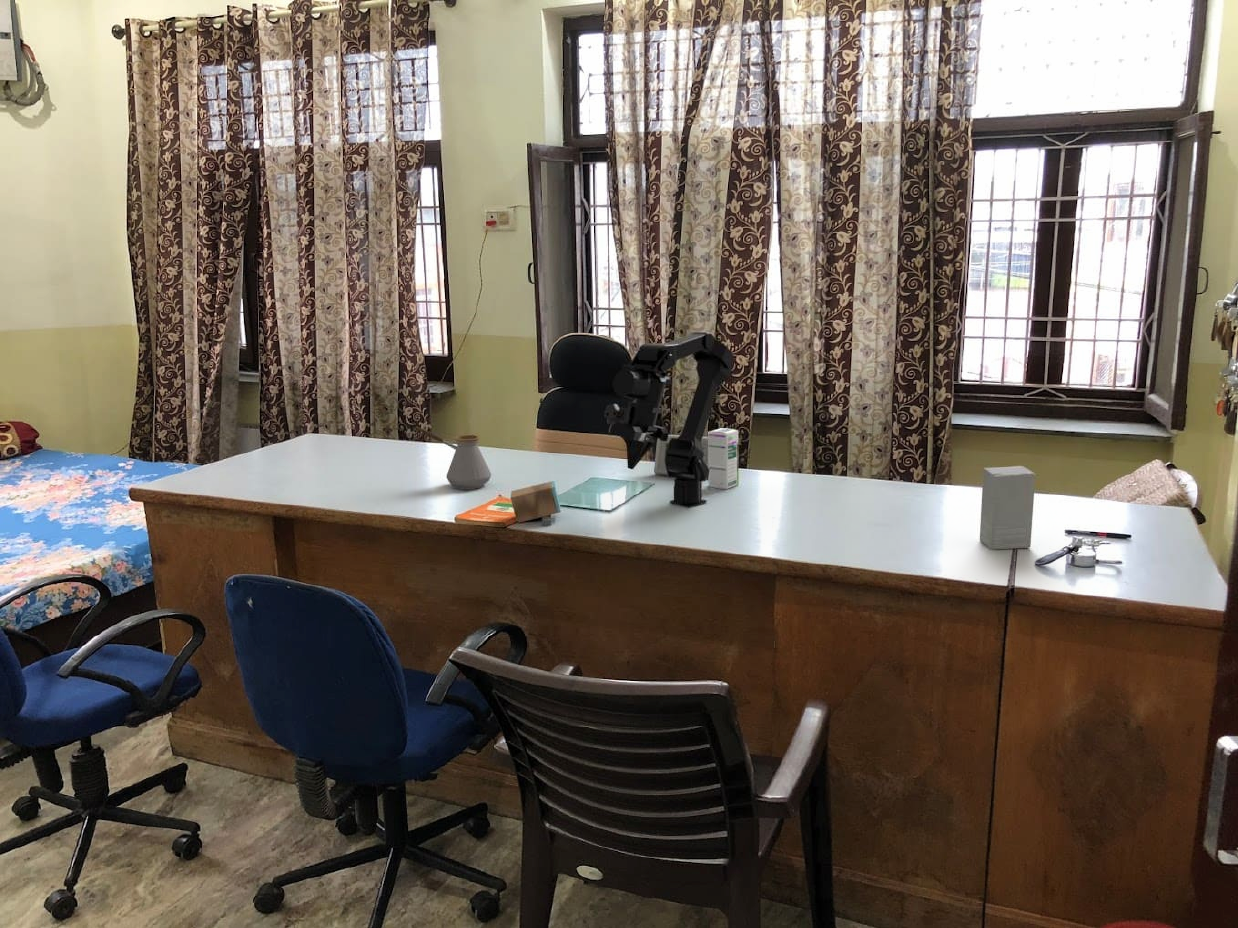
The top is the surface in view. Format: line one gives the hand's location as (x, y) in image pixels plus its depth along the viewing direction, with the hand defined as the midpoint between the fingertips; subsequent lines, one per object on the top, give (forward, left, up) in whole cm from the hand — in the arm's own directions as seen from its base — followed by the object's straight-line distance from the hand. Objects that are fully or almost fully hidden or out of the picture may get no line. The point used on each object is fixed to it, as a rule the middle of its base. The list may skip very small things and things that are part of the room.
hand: (630, 468), depth 218 cm
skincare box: (-37, +69, -12) cm, 79 cm away
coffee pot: (+8, -58, -12) cm, 59 cm away
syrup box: (-38, -5, -12) cm, 40 cm away
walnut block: (+11, -13, -7) cm, 18 cm away
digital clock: (-40, -20, -12) cm, 46 cm away
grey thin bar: (+13, -15, -12) cm, 22 cm away
